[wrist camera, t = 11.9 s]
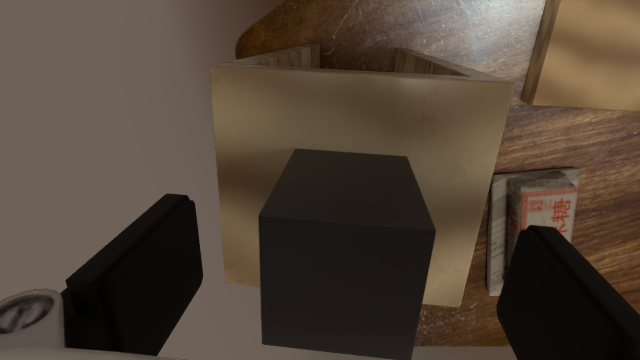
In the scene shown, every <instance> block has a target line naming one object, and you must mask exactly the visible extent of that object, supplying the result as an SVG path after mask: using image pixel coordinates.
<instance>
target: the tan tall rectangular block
mask: <svg viewBox="0 0 640 360" xmlns="http://www.w3.org/2000/svg"><path fill="white" fill-rule="evenodd" d="M320 46H321V45H320V44H307V45H303V46H298V47H294V48H289V49H284V50H280V51H275V52H271V53H266V54H262V55H257V56H253V57H248V58H243V59H239V60H234V61H230V62H225V63H220V64H216V65H211V66H210V67H209V70H210V84H211V97H212V110H213V123H214V137H215V150H216V163H217V177H218V188H219V189H218V190H219V203H220V217H221V230H222V243H223V256H224V268H225V282H226V283H227V284H236V285H246V286H255V287H260V257H259V222H258V215H259V213H260V211H261V210H262V208H263V206H264V204H265V202H266V201H267V199H268V197H269V195H270V193H271V191H272V190H273V188H274V186H275V184H276V182H277V181H278V179H279V177H280V175H281V173H282V172H283V170H284V168H285V166H286V164H287V162H288V161H289V159H290V157H291V155H292V153H293V152H294V150H295V149H296V148H297V149H311V150H325V151H339V152H353V153H367V154H381V155H395V156H407V157H408V160H409V162H410V165H411V167H412V170H413V172H414V175H415V177H416V180H417V183H418V185H419V188H420V190H421V193H422V195H423V198H424V200H425V203H426V205H427V208H428V211H429V213H430V216H431V218H432V221H433V223H434V226H435V228H436V236H435V241H434V246H433V251H432V256H431V261H430V267H429V272H428V277H427V282H426V287H425V292H424V297H423V302H422V304H431V305H441V306H451V307H460V304H461V300H462V296H463V292H464V288H465V284H466V280H467V276H468V272H469V268H470V264H471V260H472V256H473V252H474V248H475V244H476V240H477V236H478V232H479V228H480V224H481V220H482V216H483V211H484V207H485V203H486V199H487V195H488V191H489V187H490V183H491V179H492V175H493V171H494V167H495V163H496V159H497V155H498V151H499V147H500V143H501V139H502V135H503V131H504V127H505V123H506V119H507V115H508V111H509V107H510V103H511V99H512V95H513V91H514V86H515V83H514V82H512V81H509V80H506V79H503V78H500V77H496V76H493V75H490V74H487V73H484V72H480V71H477V70H474V69H471V68H468V67H465V66H461V65H458V64H455V63H452V62H449V61H446V60H442V59H439V58H436V57H433V56H430V55H426V54H423V53H420V52H417V51H414V50H411V49H407V48H397V49H396V58H395V66H394V73H392V72H374V71H355V70H336V69H320Z"/></svg>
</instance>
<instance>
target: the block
mask: <svg viewBox="0 0 640 360" xmlns="http://www.w3.org/2000/svg"><path fill="white" fill-rule="evenodd" d="M258 222H259V257H260V292H261V325H262V344H264V345H271V346H280V347H289V348H297V349H306V350H315V351H324V352H332V353H341V354H351V355H358V356H367V357H376V358H384V359H393V360H411V359H412V354H413V348H414V344H415V338H416V333H417V328H418V323H419V318H420V313H421V308H422V302H423V297H424V292H425V287H426V282H427V277H428V272H429V267H430V261H431V256H432V251H433V246H434V241H435V236H436V228H435V226H434V223H433V221H432V218H431V216H430V213H429V211H428V208H427V205H426V203H425V200H424V198H423V195H422V193H421V190H420V188H419V185H418V183H417V180H416V177H415V175H414V172H413V170H412V167H411V165H410V162H409V160H408V157H407V156H395V155H381V154H367V153H353V152H339V151H325V150H311V149H297V148H296V149H295V150H294V152H293V153H292V155H291V157H290V159H289V161H288V162H287V164H286V166H285V168H284V170H283V172H282V173H281V175H280V177H279V179H278V181H277V182H276V184H275V186H274V188H273V190H272V191H271V193H270V195H269V197H268V199H267V201H266V202H265V204H264V206H263V208H262V210H261V211H260V213H259V215H258Z"/></svg>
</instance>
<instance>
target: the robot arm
mask: <svg viewBox="0 0 640 360" xmlns="http://www.w3.org/2000/svg"><path fill="white" fill-rule="evenodd" d="M202 279H203V270H202V261H201V252H200V244H199V234H198V226H197V218H196V209H195V203H194V201H192V200H190V199H189V198H188V196H187V195H179V194H166V195H164V196H163V197H162V198H161V199H160V200H158V201H157V202H156V203H155V204H154V205H153V206H151V207H150V208H149V209H148V210H147V211H146V212H144V213H143V214H142V215H141V216H140V217H139V218H137V219H136V220H135V221H134V222H133V223H132V224H131V225H129V226H128V227H127V228H126V229H125V230H123V231H122V232H121V233H120V234H119V235H118V236H117V237H116V238H114V239H113V240H112V241H111V242H110V243H108V244H107V245H106V246H105V247H104V248H103V249H101V250H100V251H99V252H98V253H97V254H96V255H94V256H93V257H92V258H91V259H90V260H89V261H87V263H85V264H84V265H83V266H82V267H81V268H79V269H78V270H77V271H76V272H75V273H73V274H72V275H71V276H70V277H69V278H68V279H66V284H67V288H66V289H65V290H64V291H62V292H61V293H58V292H57V291H55V290H51V289H34V290H30V291H25V292H21V293H18V294H16V295H13V296H10V297H8V298H6V299H4V300H2V301H0V360H184V359H175V358H167V357H158V356H157V355H158V353H159V352H160V350H161V349H162V347H163V345H164V343H165V342H166V341H167V339H168V337H169V336H170V334H171V332H172V331H173V329H174V328H175V326H176V324H177V323H178V321H179V320H180V318H181V316H182V315H183V313H184V311H185V310H186V308H187V306H188V305H189V303H190V302H191V300H192V299H193V297H194V295H195V294H196V292H197V291H198V289H199V287H200V285H201V283H202ZM497 316H498V319H499V321H500V323H501V325H502V328H503V330H504V332H505V334H506V336H507V338H508V340H509V343H510V345H511V347H512V349H513V351H514V353H515V355H516V358H517V360H640V315H639V314H638V313H637V312H636V311H635V310H634V309H633V308H632V307H631V306H630V305H629V304H628V303H627V302H626V301H625V299H624V298H623V297H622V296H621V295H620V294H619V293H618V292H617V291H616V290H615V289H614V288H613V287H612V286H611V285H610V284H609V283H608V282H607V281H606V280H605V279H604V278H603V277H602V276H601V275H600V274H599V272H598V271H597V270H596V269H595V268H594V267H593V266H592V265H591V264H590V263H589V262H588V261H587V260H586V259H585V258H584V257H583V256H582V255H581V254H580V253H579V252H578V251H577V250H576V249H575V248H574V247H573V245H572V244H571V243H570V242H569V241H568V240H567V239H566V238H565V237H564V236H563V235H562V234H561V233H560V232H559V231H558V230H557V229H556V228H555V227H550V226H539V225H529V226H528V227H527V228H526V230H525V229H523V230H521V231H520V233H519V235H518V238H517V242H516V245H515V248H514V251H513V254H512V258H511V261H510V264H509V267H508V271H507V274H506V277H505V280H504V283H503V287H502V290H501V293H500V296H499V300H498V303H497Z"/></svg>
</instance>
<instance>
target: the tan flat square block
mask: <svg viewBox="0 0 640 360" xmlns="http://www.w3.org/2000/svg"><path fill="white" fill-rule="evenodd" d="M521 100H522V101H524V102H526V103H529V104H531V105H538V106H555V107H572V108H589V109H606V110H623V111H640V0H547V1H546V5H545V9H544V13H543V17H542V21H541V24H540V28H539V32H538V36H537V40H536V44H535V48H534V52H533V55H532V59H531V63H530V67H529V71H528V75H527V79H526V82H525V86H524V90H523V94H522V98H521Z"/></svg>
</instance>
